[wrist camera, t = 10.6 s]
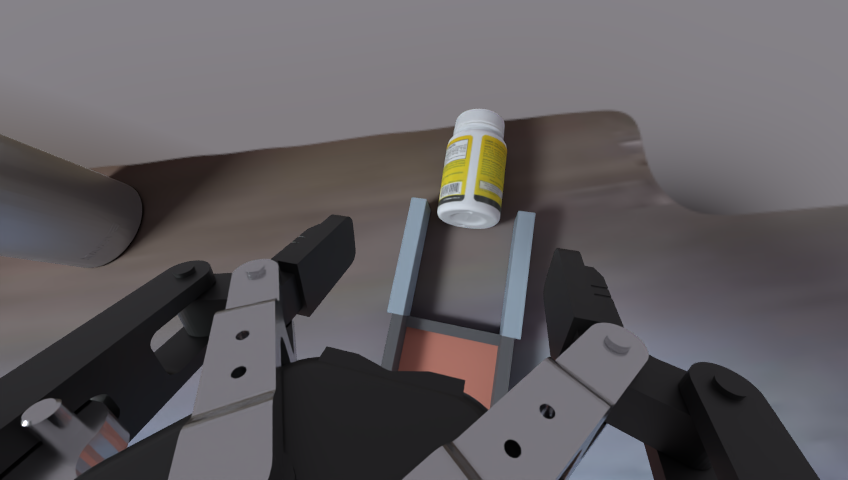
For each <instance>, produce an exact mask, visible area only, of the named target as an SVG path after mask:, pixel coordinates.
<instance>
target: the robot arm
mask: <svg viewBox="0 0 848 480" xmlns="http://www.w3.org/2000/svg"><path fill="white" fill-rule="evenodd" d="M141 217H142V203H141V199H140V197H139V195H138V193H137V191H136V190H135V189H134V188H133V187H131V186H129V185H127V184H125V183H123V182H120V181H118V180H115V179H113V178H110V177H108V176H105V175H102V174H100V173H97V172H95V171H92V170H90V169H87V168H85V167H82V166H80V165H78V164H75V163H73V162H70V161H67V160H65V159H62V158H60V157H57V156H54V155H52V154H50V153H47V152H45V151H42V150H40V149H37V148H35V147H32V146H29V145H27V144H24V143H22V142H19V141H17V140H14V139H12V138H9V137H7V136H4V135H2V134H0V256H5V257H13V258H20V259H27V260H33V261H40V262H48V263H55V264H62V265H69V266H76V267H84V268H94V267H98V266H102V265H104V264H106V263H109V262H110V261H112V260H113V259H115V258H116V257H118V256H119V255H120V254H121V253H122V252H123V251H124V250H125V249H126V248H127V247H128V245H129V244H130V243H131V242H132V240H133V238H134V236H135V235H136V233H137V231H138V228H139V225H140V222H141ZM355 251H356V250H355V240H354V230H353V222H352V219H351V218H350V217H346V216H339V215H331V216H329V217H328V218H327V219H326V220H325V221H323V222H322V223H321V224H318V225H316V226H314V227H311V228H309V229H307V230H306V231H305V232H303V233H302V234H301V235H300V236H299V237H297V238H296V239H295V240H294V241H293V243H290V244H289V245H288V246H286V247H285V248H284V249H283V250H281V251H280V252H279V253H278V254H277V255H275V256H274V257H273V258H272V259H271V260H270V259H258V260H253V261H250V262H247V263H245V264H243V265H241V266H239V267H238V268H237V269H235V271H234V272H233V273H223V274H213V271H212V269H211V266H210V264H209V263H208V262H205V261H189V262H184V263H181V264H178V265H176V266H173V267H171V268H169V269H168V270H166V271H165V272H163V273H161V274H160V275H158V276H157V277H155V278H154V279H152V280H151V281H149V282H148V283H146V284H145V285H143V286H141V287H140V288H138V289H137V290H135V291H134V292H132V293H131V294H129V295H128V296H126V297H125V298H123V299H122V300H120V301H118V302H117V303H115V304H114V305H112V306H111V307H109V308H108V309H106V310H105V311H103V312H102V313H100V314H98V315H97V316H95V317H94V318H92V319H91V320H89V321H88V322H86V323H85V324H83V325H82V326H80V327H79V328H77V329H75V330H74V331H72V332H71V333H69V334H68V335H66V336H65V337H63V338H62V339H60V340H59V341H57V342H55V343H54V344H52V345H51V346H49V347H48V348H46V349H45V350H43V351H42V352H40V353H39V354H37V355H36V356H34V357H32V358H31V359H29V360H28V361H26V362H25V363H23V364H22V365H20V366H19V367H17V368H16V369H14V370H12V371H11V372H9V373H8V374H6V375H5V376H3V377H2V378H0V480H568V479H569V478H570V476H571V475H572V473H573V472H574V470H575V469H576V467H577V466H578V464H579V463H580V462H581V460H582V459H583V458H584V456H585V455H586V453H587V452H588V451H589V449H590V448H591V446H592V445H593V444H594V442H595V441H596V440H597V438H598V437H599V435H600V434H601V433H602V431H603V430H604V429H605V427H606V426H607V424H610V425H612V426H613V427H615V428H617V429H619V430H621V431H623V432H625V433H626V434H628V435H630V436H632V437H634V438H636V439H638V440H640V441H641V442H643V443H644V445H645V449H646V452H647V456H648V459H649V463H650V467H651V470H652V474H653V478H654V480H820V479H819V477H818V476H817V474H816V473H815V472H814V470H813V469H812V467H811V466H810V464H809V463H808V461H807V460H806V458H805V457H804V455H803V454H802V452H801V451H800V449H799V448H798V446H797V445H796V443H795V442H794V440H793V439H792V437H791V436H790V434H789V433H788V431H787V430H786V428H785V427H784V425H783V424H782V422H781V421H780V419H779V418H778V416H777V415H776V413H775V412H774V410H773V409H772V407H771V406H770V404H769V403H768V401H767V400H766V399H765V397H764V396H763V395H762V393H761V392H760V391H759V390H758V389H757V388H756V387H755V386H754V385H753V384H751V383H750V382H749V381H748V380H746V379H745V378H743V377H742V376H740V375H739V374H737V373H735V372H733V371H732V370H729V369H727V368H725V367H722V366H720V365H717V364H713V363H708V362H698V363H695V364H693V365H692V366H691V367H690V368H689V370H688V371H685V370H682V369H680V368H677V367H675V366H673V365H670V364H668V363H665V362H663V361H661V360H658V359H656V358H654V357H652V356H651V355H649V353H648V350H647V347H646V346H645V344H644V343H643V342H642V340H641V339H640V338H639V337H637V336H636V335H635V334H634V333H632V332H631V331H629V330H627V329H625V328H624V327H623V324H622V322H621V319H620V317H619V314H618V312H617V309H616V307H615V305H614V302H613V300H612V299H611V295H610V292H609V290H607V288H608V287H607V285H606V282H605V280H604V277H603V276H602V275H601V274H600V273H599V272H598V271H597V270H596V269H594V268H593V267H588V266H584V263H583V260H582V257H581V254H580V252H579V251H574V250H567V249H560V248H556V250H555V252H554V255H553V258H552V261H551V265H550V268H549V272H548V275H547V278H546V282H545V286H544V306H545V314H546V322H547V330H548V339H549V347H550V355H551V357H548V358H546V359H545V360H543V361H542V362H541V363H540V364H539V365H538V366H537V367H535V368H534V369H533V370H532V371H531V372H530V373H529V374H528V375H527V376H526V377H524V378H523V379H522V380H521V381H520V382H519V383H518V384H517V385H516V386H514V387H513V388H512V389H511V390H510V391H509V392H508V393H507V394H506V395H505V396H503V397H502V398H501V399H500V400H499V401H498V402H497V403H496V404H495V405H493V406H492V407H491V408H490V409H489V410H488V409H487V408H486V407H485V406H484V405H482V404H481V403H480V402H479V401H478V400H476V399H475V398H473V397H472V396H470V395H468V394H466V393H465V392H464V386H465V380H463V379H459V378H455V377H451V376H446V375H442V374H438V373H434V372H430V371H390V370H387V369H385V368H383V367H381V366H379V365H377V364H376V363H374V362H372V361H370V360H368V359H366V358H365V357H363V356H361V355H359V354H356V353H352V352H347V351H343V350H339V349H335V348H331V347H326V348H325V350H324V351H323V353H322V355H321V356H320V357H314V358H307V359H302V360H298V361H297V354H296V342H295V329H294V322H293V318H294V317H295V315H296V314H298V315H303V316H307V317H310V316H311V314H312V313H313V312H314V310H315V309H316V308H317V307H318V305H319V304H320V303H321V302H322V300H323V299H324V298H325V297H326V295H327V294H328V293H329V292H330V290H331V289H332V288H333V287H334V285H335V284H336V283H337V282H338V280H339V279H340V278H341V277H342V275H343V274H344V273H345V272H346V270H347V269H348V268H349V267H350V265H351V264H352V262H353V260H354V257H355ZM176 315H178V316H179V318H180V320H181V322H182V324H183V326H184V327H183V328H182V329H181V330H179V331H178V332H177V333H176V334H175V335H174V336H173V337H171V338H170V339H169V340H168V341H167V342H166V343H165V344H163V345H162V346H161V347H160V348H159V349H158V350H156V351H155V352H153V351H152V349H151V346H150V342H151V339H152V337H153V335H154V334H155V333H156V331H158V330H159V329H160V328H161V327H162V326H164V325H165V324H166V323H167V322H169V321H170V320H171V319H172V318H173V317H175V316H176ZM202 365H203V368H202V372H201V377H200V381H199V386H198V390H197V395H196V399H195V404H194V408H193V413H192V414H190V415H188V416H187V417H185V418H183V419H181V420H179V421H177V422H175V423H173V424H171V425H170V426H168V427H166V428H164V429H162V430H160V431H158V432H156V433H154V434H152V435H151V436H149V437H147V438H145V439H143V440H141V441H139V442H137V443H135V444H134V445H132V446H130V447H128V448H127V446H128V443H129V442H130V441H131V440H132V439H133V438H134V437H135V436H136V435H137V434H138V432H139V431H140V430H141V429H142V428H143V427H144V426H145V425H146V424H147V423H148V422H149V421H150V420H151V419H152V418H153V417H154V416H155V414H156V413H157V412H158V411H159V410H160V409H161V408H162V407H163V406H164V405H165V404H166V403H167V402H168V401H169V400H170V399H171V398H172V396H173V395H174V394H175V393H176V392H177V391H178V390H179V389H180V388H181V387H182V386H183V385H184V384H185V383H186V382H187V381H188V380H189V379H190V377H191V376H192V375H193V374H194V373H195V372H196V371H197V370H198V369H199V368H200V367H201V366H202Z"/></svg>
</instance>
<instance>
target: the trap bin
mask: <svg viewBox="0 0 848 480" xmlns="http://www.w3.org/2000/svg"><path fill="white" fill-rule="evenodd" d="M513 346H514V338H511V337H506V336H502V335H500V334H496V333H491V332H486V331H481V330H476V329H471V328H466V327H461V326H457V325H452V324H447V323H442V322H437V321H432V320H427V319H422V318H418V317H413V316H405V315H399V314H394V313H392V317H391V322H390V326H389V331H388V336H387V340H386V345H385V350H384V354H383V359H382V364H381V367H383V368H385V369H387V370H390V371H430V372H434V373H438V374H442V375H446V376H451V377H455V378H459V379H463V380H465V386H464V392H465V393H466V394H468V395H470V396H472V397H473V398H475V399H476V400H478V401H479V402H480V403H481V404H482V405H484V406H485V407H486V408H487V409H488V410H489V409H490V408H491V407H492V406H493V405H495V404H496V403H497V402H498V401H499V400H500V399H501V398H502V397H503V396H505V395H506V394H507V393H508V387H509V379H510V371H511V363H512V354H513Z"/></svg>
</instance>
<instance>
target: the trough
mask: <svg viewBox="0 0 848 480" xmlns="http://www.w3.org/2000/svg"><path fill="white" fill-rule="evenodd" d="M430 212H431V209H430V207H429V204H428V202H427V199H420V198H412V199H411V204H410V209H409V213H408V218H407V222H406V227H405V232H404V236H403V241H402V245H401V250H400V255H399V259H398V264H397V269H396V273H395V278H394V282H393V287H392V292H391V296H390V301H389V305H388V310H387V312H389V313H394V314H399V315H405V316H410V312H411V307H412V302H413V297H414V292H415V287H416V282H417V277H418V272H419V267H420V262H421V257H422V252H423V247H424V242H425V237H426V232H427V227H428V222H429V217H430ZM534 221H535V213H532V212H524V211H518V213H517V216H516V218H515V221H514V227H513V235H512V242H511V250H510V257H509V265H508V272H507V280H506V287H505V295H504V302H503V310H502V317H501V325H500V332H499V334H500V335H502V336H506V337H511V338H516V339H521V332H522V324H523V315H524V307H525V298H526V289H527V281H528V272H529V264H530V255H531V247H532V238H533V230H534Z"/></svg>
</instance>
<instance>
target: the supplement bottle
mask: <svg viewBox="0 0 848 480" xmlns="http://www.w3.org/2000/svg"><path fill="white" fill-rule="evenodd" d="M504 128H505V124H504V120H503V118H502V117H501V116H500V115H499V114H497V113H496V112H493V111H491V110H487V109H472V110H468V111H465V112H463V113H462V114H461V115H459V117H458V118H457V121H456V124H455V129H454V136H453V137H452V138H451V139H450V141H449V143H448V146H447V151H446V158H445V164H444V170H443V177H442V184H441V190H440V197H439V204H438V210H437V214H438V216H439V218H440V219H441V220H442V221H444V222H446V223H448V224H451V225H454V226H458V227H464V228H472V229H483V228H489V227H492V226H494V225H496V224H497V223H498V222H499V220H500V214H501V205H502V195H503V185H504V176H505V166H506V157H507V147H506V144H505V142H504V140H503V138H504Z"/></svg>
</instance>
